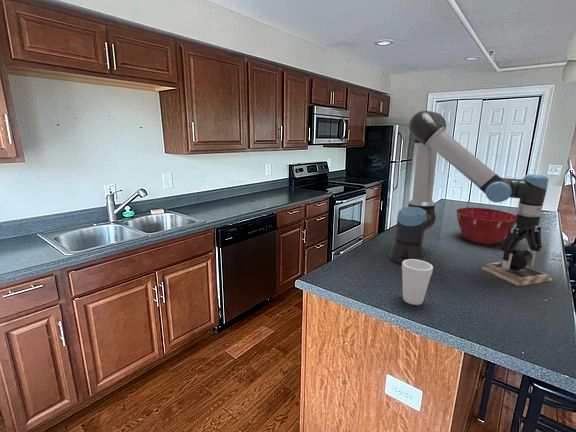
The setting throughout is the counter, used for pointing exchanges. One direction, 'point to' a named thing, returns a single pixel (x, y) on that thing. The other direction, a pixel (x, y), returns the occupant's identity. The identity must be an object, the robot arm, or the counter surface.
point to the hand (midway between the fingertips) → (517, 266)
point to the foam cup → (415, 280)
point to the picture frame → (517, 274)
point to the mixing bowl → (485, 224)
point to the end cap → (520, 259)
